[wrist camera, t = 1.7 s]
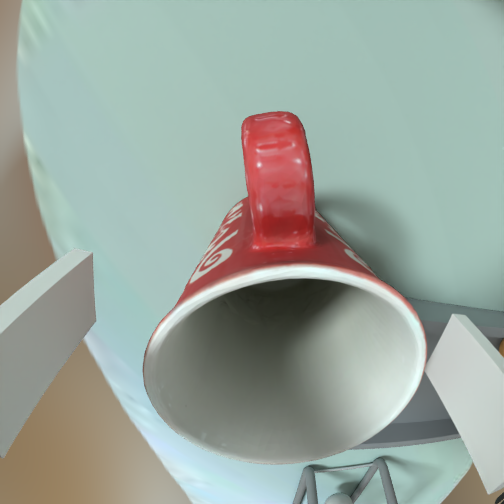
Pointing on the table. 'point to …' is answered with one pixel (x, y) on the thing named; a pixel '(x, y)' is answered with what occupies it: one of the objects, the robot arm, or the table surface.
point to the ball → (501, 348)
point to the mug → (282, 325)
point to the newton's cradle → (341, 501)
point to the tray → (426, 398)
